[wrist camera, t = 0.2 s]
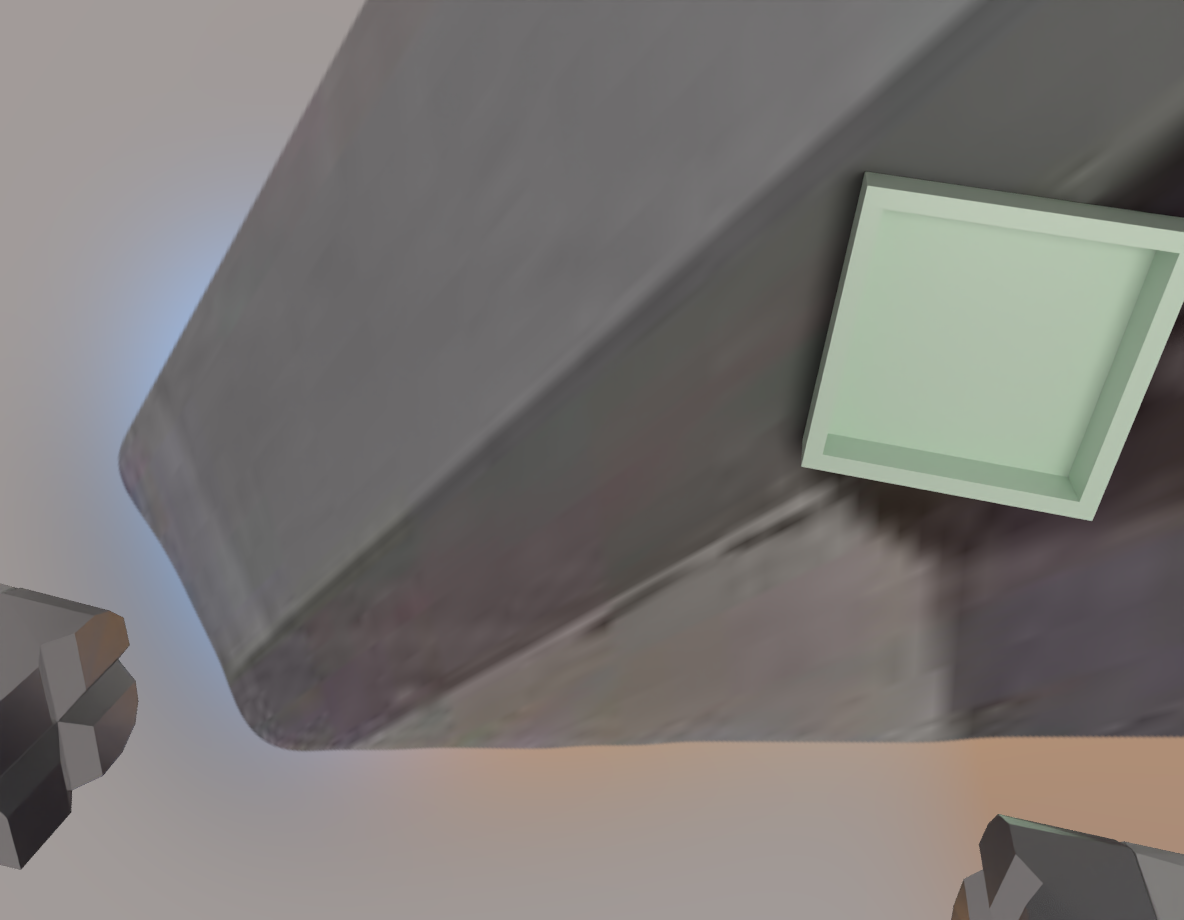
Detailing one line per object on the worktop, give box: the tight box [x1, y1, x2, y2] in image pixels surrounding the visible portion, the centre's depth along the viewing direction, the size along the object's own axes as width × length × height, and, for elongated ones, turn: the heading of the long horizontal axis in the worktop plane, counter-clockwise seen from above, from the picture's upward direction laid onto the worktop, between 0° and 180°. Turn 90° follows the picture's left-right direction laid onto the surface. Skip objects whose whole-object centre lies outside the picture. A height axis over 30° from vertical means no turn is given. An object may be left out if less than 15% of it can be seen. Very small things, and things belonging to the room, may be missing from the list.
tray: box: [801, 171, 1184, 521], centre depth 52 cm, size 16×16×4 cm
